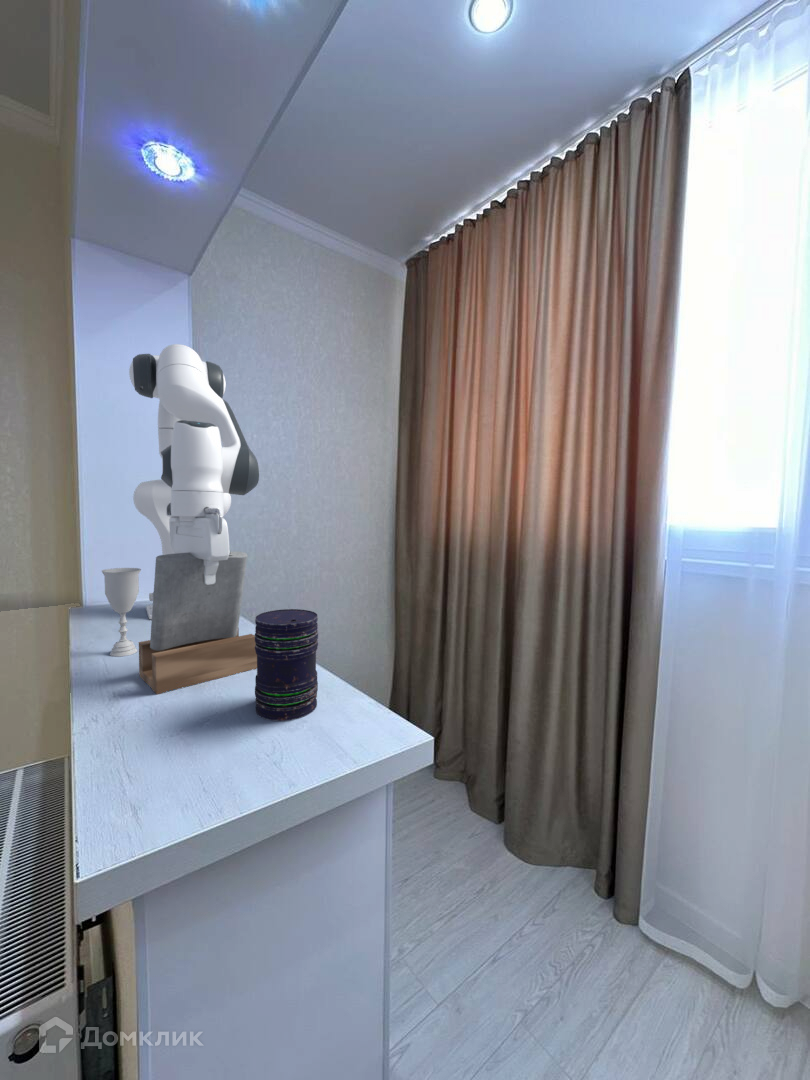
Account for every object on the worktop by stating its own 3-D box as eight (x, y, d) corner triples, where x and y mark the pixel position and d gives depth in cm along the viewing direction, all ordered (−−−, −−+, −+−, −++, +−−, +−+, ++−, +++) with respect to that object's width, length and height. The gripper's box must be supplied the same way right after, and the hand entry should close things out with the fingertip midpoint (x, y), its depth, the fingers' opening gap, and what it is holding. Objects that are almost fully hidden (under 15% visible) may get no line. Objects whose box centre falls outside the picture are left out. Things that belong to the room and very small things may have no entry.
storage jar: (246, 702, 71) (246, 613, 70) (303, 688, 77) (303, 606, 76) (267, 728, 63) (267, 628, 62) (328, 710, 69) (329, 619, 68)
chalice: (150, 648, 97) (148, 568, 95) (128, 658, 90) (125, 573, 89) (119, 646, 97) (117, 567, 96) (95, 656, 91) (92, 571, 89)
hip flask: (152, 652, 78) (159, 548, 73) (146, 640, 81) (153, 540, 75) (239, 636, 89) (251, 544, 83) (232, 626, 92) (243, 537, 86)
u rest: (139, 675, 81) (138, 642, 81) (234, 654, 94) (233, 625, 93) (156, 694, 74) (155, 657, 73) (257, 668, 86) (257, 636, 86)
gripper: (238, 508, 76) (239, 586, 77) (196, 507, 91) (197, 573, 91) (201, 507, 72) (202, 590, 73) (163, 507, 86) (164, 576, 87)
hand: (199, 580), depth 82 cm, fingers open, 8 cm apart
